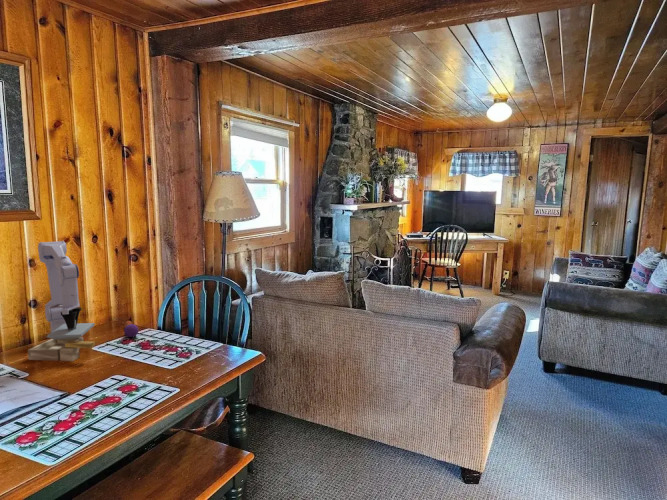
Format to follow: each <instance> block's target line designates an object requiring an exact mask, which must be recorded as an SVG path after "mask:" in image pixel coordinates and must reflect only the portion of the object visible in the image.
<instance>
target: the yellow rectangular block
mask: <svg viewBox="0 0 667 500" xmlns="http://www.w3.org/2000/svg"><path fill="white" fill-rule="evenodd" d="M95 343H96V342H95V341H88V340H87V341H86V340H85V341H69V342H67V343H65V347H74V348H80V349H82V348H84V349H91V348H93V347H94V346H95V345H96V344H95Z"/></svg>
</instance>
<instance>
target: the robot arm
mask: <svg viewBox="0 0 667 500" xmlns="http://www.w3.org/2000/svg"><path fill="white" fill-rule="evenodd" d="M37 250H38V251H37V252H38V258H39V260H40V262H41V263H43V264H44V265H45V267H46V273H47V279H48V280H47V281H48V286H49V291H50V298H51V299H50V300H49V301H48V302H47V303H46V304H45V305H44V309H45V310H44V315H45V319H46V321H47V322H49V323H50V333H51V332H53V331H54V330H56V329H57V328H58V327H60V326H61V325H63V324H66V325H67V328H68V329H72V328H74V325H75V320H76V326H77V323H78V321H79V316H80V312H81V311H82V307H81V306H80V305H81V304H80V298H79V286H78V284H79V283H78V279H79V277H80V269H79V266H78V264H76V263H73V262H72V260H71V259H70V257H69V256H67V255H66V254H67V252H68V251H67V243H66V242H65V241H64V240H60V241H43V242H42V241H40V242H38V245H37Z"/></svg>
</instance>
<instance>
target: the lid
mask: <svg viewBox="0 0 667 500" xmlns="http://www.w3.org/2000/svg"><path fill="white" fill-rule="evenodd" d="M94 326H95V322H85V323H84V322H83V323H80V322H79V323H78V322H77V326H76V320H75V325H74V328H72V329H68V328H67V325H66V324H63V325H61V326H60V327H58V328H57V329H56V330H54V331H53V332H51V331H50V333H48V334H47V336H46V338H47V339H52V338H53V339H75V338H80V337H83V336H84V335H85V334H86V333H88V331H89V330H91V329H92V328H94Z"/></svg>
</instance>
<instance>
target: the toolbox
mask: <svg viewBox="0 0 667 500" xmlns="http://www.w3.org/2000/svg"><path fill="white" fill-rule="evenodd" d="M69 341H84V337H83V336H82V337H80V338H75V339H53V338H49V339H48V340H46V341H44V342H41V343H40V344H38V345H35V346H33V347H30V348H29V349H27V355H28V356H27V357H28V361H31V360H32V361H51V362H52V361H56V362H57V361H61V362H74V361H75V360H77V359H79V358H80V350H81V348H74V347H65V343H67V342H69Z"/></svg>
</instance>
